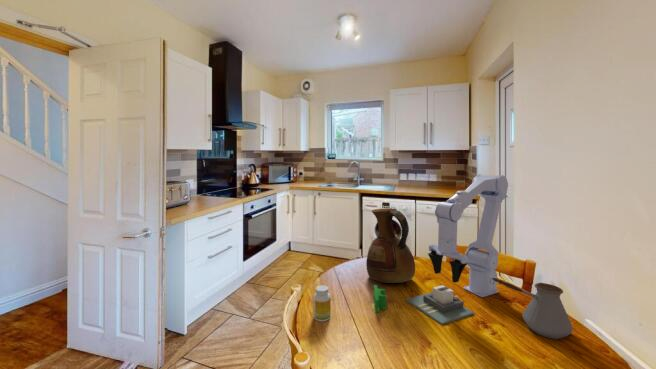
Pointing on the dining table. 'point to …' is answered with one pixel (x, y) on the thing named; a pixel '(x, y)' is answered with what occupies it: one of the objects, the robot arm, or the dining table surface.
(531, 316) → the coffee pot
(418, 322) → the dining table surface
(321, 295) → the supplement bottle
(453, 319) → the header socket
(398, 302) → the dining table surface
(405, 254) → the ceramic pitcher
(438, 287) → the plug
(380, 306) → the pipe clamp
